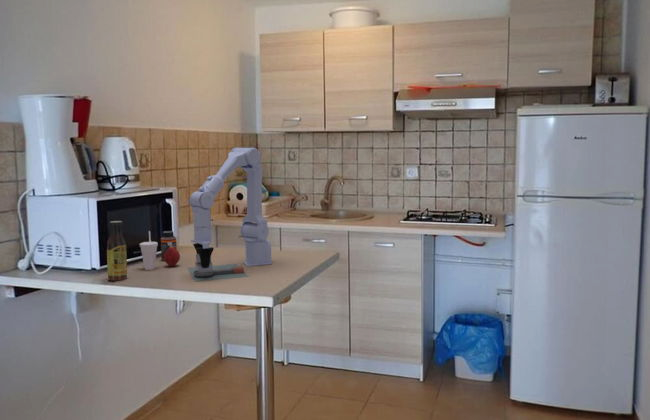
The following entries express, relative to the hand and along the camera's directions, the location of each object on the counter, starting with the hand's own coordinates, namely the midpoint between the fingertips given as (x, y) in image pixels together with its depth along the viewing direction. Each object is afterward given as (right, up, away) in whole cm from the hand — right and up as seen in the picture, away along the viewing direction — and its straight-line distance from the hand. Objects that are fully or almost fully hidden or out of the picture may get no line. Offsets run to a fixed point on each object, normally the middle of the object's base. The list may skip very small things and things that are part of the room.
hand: (203, 265), depth 195 cm
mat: (+3, -3, +6) cm, 7 cm away
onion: (-15, -2, +16) cm, 22 cm away
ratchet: (+5, -3, +2) cm, 6 cm away
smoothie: (-22, -3, +13) cm, 26 cm away
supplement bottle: (-20, -1, +28) cm, 34 cm away
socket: (0, -2, 0) cm, 2 cm away
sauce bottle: (-29, -5, -2) cm, 29 cm away
